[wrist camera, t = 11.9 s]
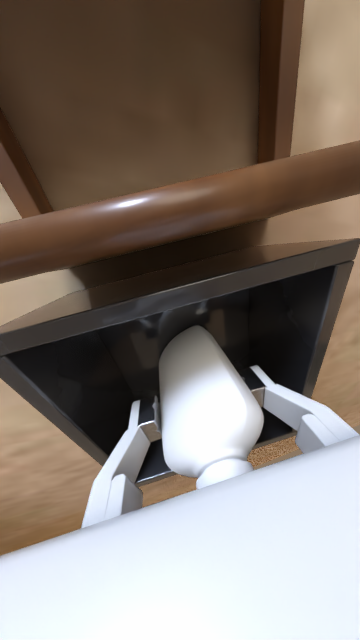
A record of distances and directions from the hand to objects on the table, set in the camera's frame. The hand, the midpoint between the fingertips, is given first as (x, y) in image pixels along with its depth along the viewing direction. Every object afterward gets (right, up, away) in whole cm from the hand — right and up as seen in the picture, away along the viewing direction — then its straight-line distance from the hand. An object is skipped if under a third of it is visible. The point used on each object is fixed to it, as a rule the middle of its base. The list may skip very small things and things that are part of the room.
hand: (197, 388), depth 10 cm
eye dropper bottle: (-1, +2, +4) cm, 5 cm away
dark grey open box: (-1, +2, +4) cm, 5 cm away
